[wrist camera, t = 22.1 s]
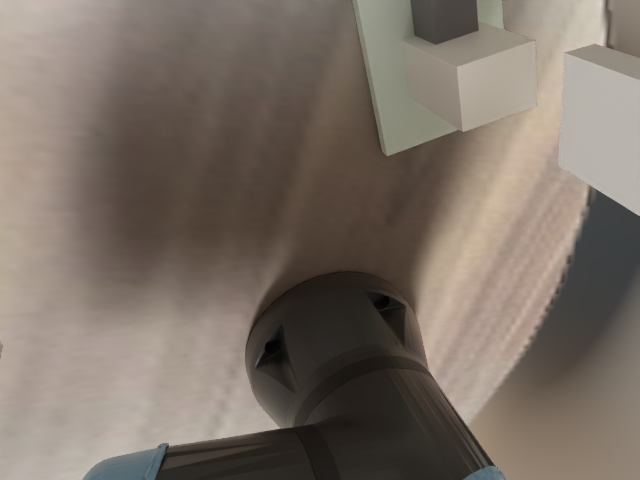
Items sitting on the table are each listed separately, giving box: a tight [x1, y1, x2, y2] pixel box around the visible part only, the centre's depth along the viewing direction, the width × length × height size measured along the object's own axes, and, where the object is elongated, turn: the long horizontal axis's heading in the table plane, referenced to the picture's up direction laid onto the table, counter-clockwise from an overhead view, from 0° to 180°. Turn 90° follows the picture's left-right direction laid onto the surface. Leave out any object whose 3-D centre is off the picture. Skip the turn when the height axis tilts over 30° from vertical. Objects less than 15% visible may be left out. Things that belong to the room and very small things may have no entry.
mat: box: [352, 0, 504, 156], centre depth 39 cm, size 19×10×1 cm, turn 14°
